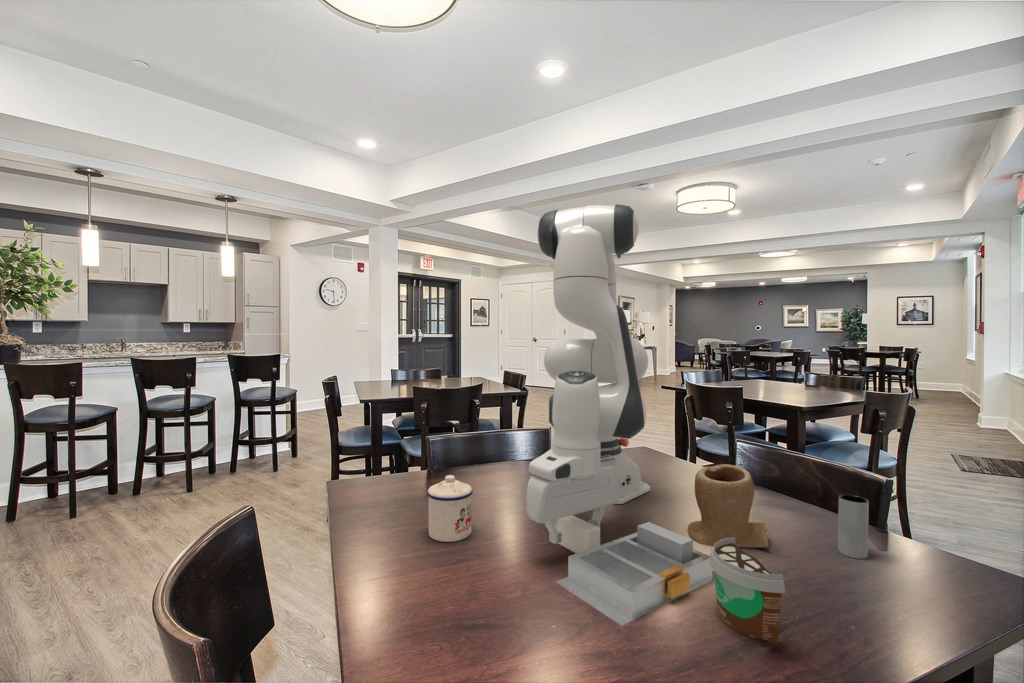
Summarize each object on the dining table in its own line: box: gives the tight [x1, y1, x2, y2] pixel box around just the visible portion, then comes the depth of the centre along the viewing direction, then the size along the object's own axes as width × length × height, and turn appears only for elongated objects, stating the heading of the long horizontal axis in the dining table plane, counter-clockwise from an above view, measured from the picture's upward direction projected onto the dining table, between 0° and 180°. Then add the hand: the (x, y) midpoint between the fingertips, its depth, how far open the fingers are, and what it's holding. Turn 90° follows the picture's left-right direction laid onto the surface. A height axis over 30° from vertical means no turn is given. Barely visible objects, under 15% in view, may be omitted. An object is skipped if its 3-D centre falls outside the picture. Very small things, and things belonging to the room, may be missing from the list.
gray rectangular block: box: [636, 521, 694, 564], centre depth 82 cm, size 3×9×6 cm, turn 35°
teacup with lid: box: [426, 474, 474, 543], centre depth 99 cm, size 12×9×12 cm
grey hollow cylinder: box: [837, 493, 870, 560], centre depth 89 cm, size 4×4×10 cm
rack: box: [555, 532, 715, 627], centre depth 78 cm, size 24×15×5 cm, turn 125°
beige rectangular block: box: [555, 515, 601, 554], centre depth 89 cm, size 3×9×6 cm, turn 35°
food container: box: [709, 538, 786, 649], centre depth 67 cm, size 12×6×10 cm, turn 5°
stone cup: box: [687, 463, 770, 549], centre depth 93 cm, size 15×12×15 cm
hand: (575, 535), depth 89 cm, fingers open, 8 cm apart
